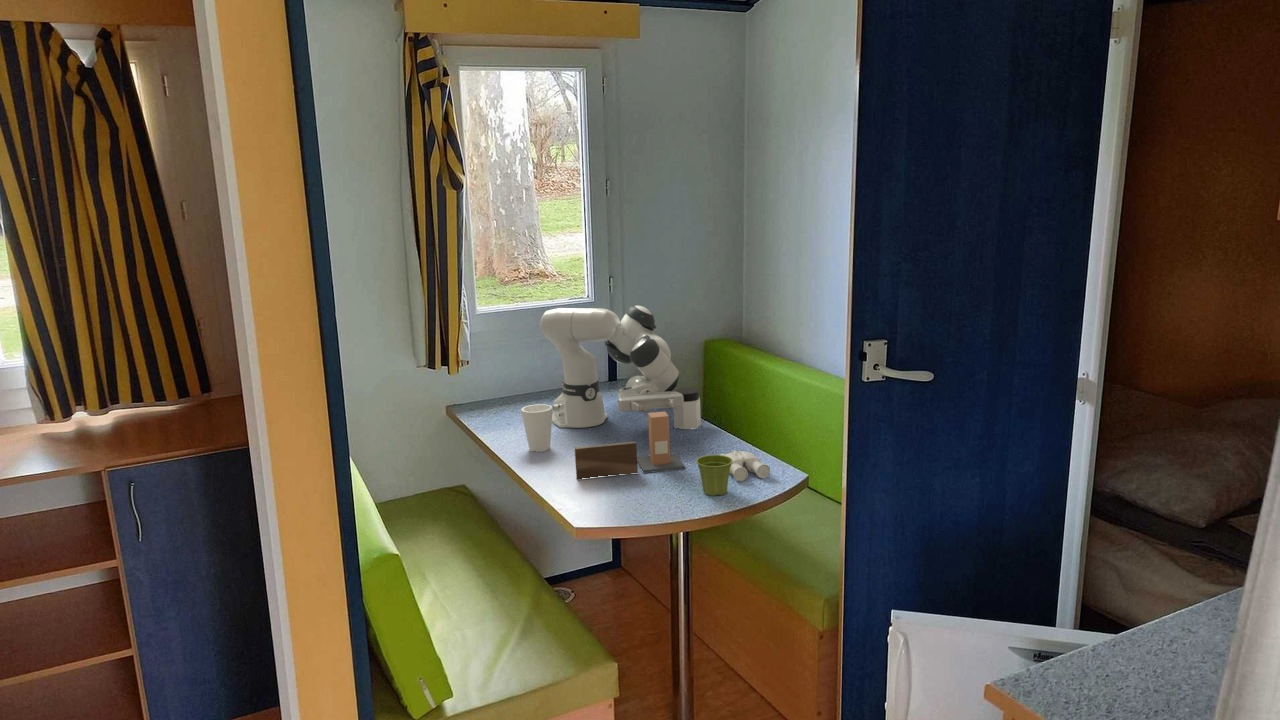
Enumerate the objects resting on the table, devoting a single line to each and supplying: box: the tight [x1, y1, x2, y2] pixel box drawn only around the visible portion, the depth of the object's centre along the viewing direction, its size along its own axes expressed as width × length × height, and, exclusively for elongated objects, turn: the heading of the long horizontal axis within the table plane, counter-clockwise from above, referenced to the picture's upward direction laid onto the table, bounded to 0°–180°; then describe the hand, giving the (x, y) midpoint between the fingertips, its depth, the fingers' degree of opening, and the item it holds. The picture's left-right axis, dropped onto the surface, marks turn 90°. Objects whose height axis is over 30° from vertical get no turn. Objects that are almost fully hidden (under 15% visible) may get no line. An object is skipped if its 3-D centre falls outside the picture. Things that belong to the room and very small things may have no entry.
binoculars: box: [719, 450, 771, 482], centre depth 248 cm, size 10×16×5 cm, turn 14°
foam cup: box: [520, 403, 554, 453], centre depth 275 cm, size 10×9×13 cm
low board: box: [574, 441, 639, 480], centre depth 248 cm, size 2×17×9 cm, turn 100°
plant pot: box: [695, 454, 733, 496], centre depth 232 cm, size 9×9×9 cm
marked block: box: [647, 411, 671, 465], centre depth 255 cm, size 5×5×14 cm
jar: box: [673, 387, 702, 430], centre depth 291 cm, size 9×8×12 cm
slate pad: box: [637, 452, 686, 473], centre depth 257 cm, size 12×12×1 cm
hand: (655, 407), depth 266 cm, fingers open, 8 cm apart
